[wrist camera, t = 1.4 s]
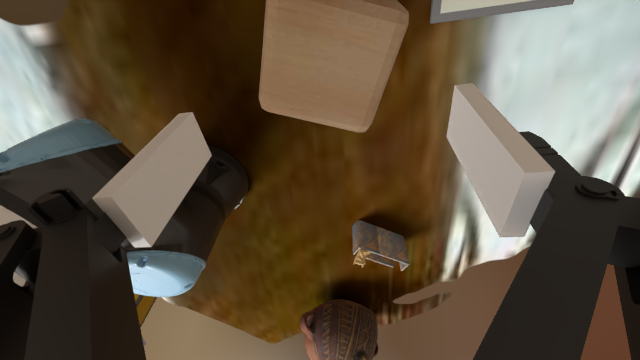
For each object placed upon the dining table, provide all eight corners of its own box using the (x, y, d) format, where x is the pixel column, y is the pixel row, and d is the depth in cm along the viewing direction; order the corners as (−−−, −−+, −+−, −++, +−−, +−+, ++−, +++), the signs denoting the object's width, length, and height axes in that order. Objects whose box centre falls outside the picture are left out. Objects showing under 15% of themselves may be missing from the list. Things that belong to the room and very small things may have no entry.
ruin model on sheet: (351, 226, 62) (351, 264, 55) (357, 217, 60) (359, 256, 53) (395, 242, 64) (402, 281, 57) (403, 234, 62) (411, 273, 55)
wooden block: (303, -40, 33) (265, -31, 18) (385, -18, 34) (417, 10, 18) (291, 49, 39) (254, 113, 24) (360, 66, 40) (368, 139, 25)
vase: (397, 300, 79) (417, 445, 56) (356, 325, 91) (360, 454, 68) (321, 271, 73) (308, 420, 50) (288, 301, 84) (265, 435, 61)
